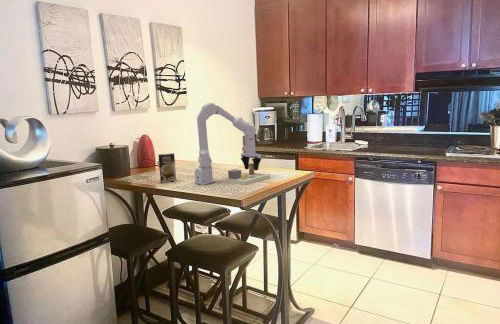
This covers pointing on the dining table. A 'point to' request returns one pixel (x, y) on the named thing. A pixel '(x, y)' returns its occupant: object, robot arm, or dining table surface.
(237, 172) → the grey chamfered cube
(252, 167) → the pin
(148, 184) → the dining table surface
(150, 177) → the dining table surface
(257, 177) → the pin board
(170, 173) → the coffee box
